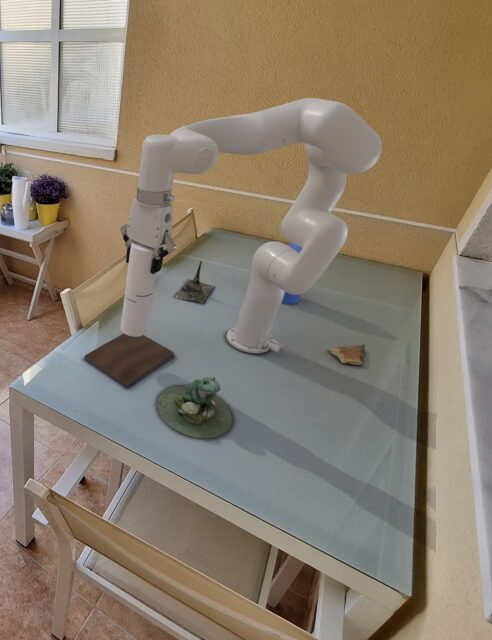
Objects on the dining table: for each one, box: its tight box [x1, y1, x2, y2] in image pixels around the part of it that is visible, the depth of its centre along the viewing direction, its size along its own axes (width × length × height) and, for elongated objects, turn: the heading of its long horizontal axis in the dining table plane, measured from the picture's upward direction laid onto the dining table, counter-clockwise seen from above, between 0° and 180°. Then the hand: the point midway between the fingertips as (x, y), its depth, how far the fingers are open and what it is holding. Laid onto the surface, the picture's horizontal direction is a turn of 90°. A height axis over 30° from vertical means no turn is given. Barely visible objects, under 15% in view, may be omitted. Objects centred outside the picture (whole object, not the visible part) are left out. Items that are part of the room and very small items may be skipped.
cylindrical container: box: [120, 241, 160, 337], centre depth 109 cm, size 7×7×25 cm
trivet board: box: [84, 332, 175, 389], centre depth 122 cm, size 16×21×2 cm
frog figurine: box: [157, 375, 233, 440], centre depth 101 cm, size 18×18×12 cm
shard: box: [330, 344, 366, 366], centre depth 121 cm, size 11×8×2 cm
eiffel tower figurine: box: [174, 258, 215, 304], centre depth 149 cm, size 15×10×13 cm
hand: (142, 266), depth 105 cm, fingers closed on cylindrical container, 7 cm apart
